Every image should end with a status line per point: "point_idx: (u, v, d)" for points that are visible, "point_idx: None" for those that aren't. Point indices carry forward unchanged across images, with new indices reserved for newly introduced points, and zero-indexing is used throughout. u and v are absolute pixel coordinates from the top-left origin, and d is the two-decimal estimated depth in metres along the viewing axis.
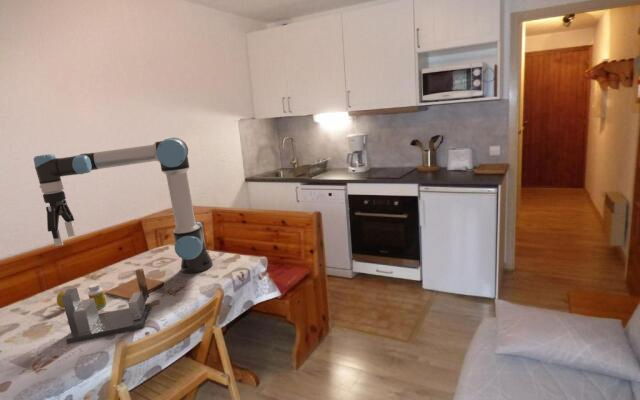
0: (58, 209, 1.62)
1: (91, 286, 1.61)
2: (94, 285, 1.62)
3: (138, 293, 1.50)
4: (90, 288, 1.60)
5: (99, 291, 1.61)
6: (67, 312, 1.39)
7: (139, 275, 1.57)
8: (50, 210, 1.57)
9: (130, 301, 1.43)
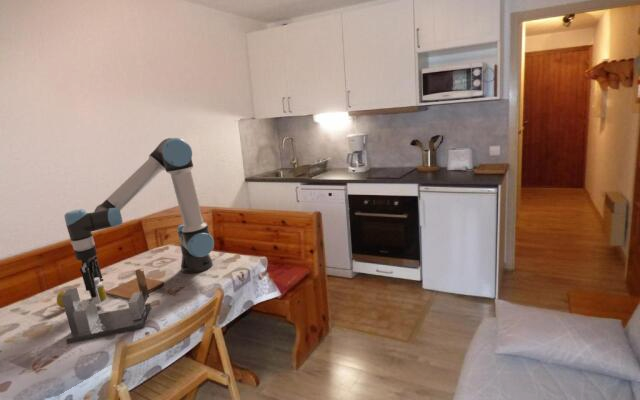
0: (91, 266, 1.58)
1: None
2: (94, 279, 1.61)
3: (138, 293, 1.50)
4: None
5: (99, 285, 1.61)
6: (67, 312, 1.39)
7: (139, 275, 1.57)
8: (85, 271, 1.54)
9: (130, 301, 1.43)
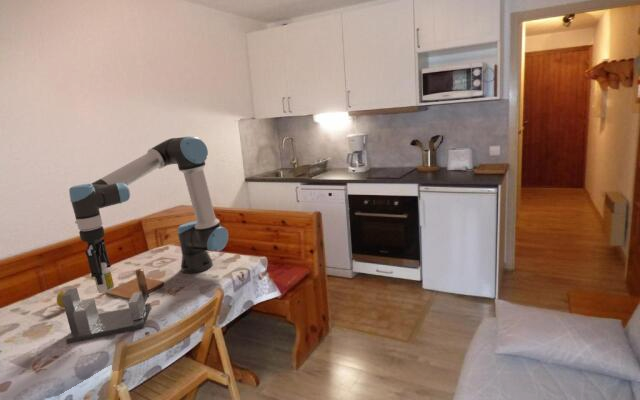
0: (98, 249, 1.39)
1: None
2: None
3: (138, 293, 1.50)
4: None
5: (106, 271, 1.41)
6: (67, 312, 1.39)
7: (139, 275, 1.57)
8: (90, 254, 1.35)
9: (130, 301, 1.43)
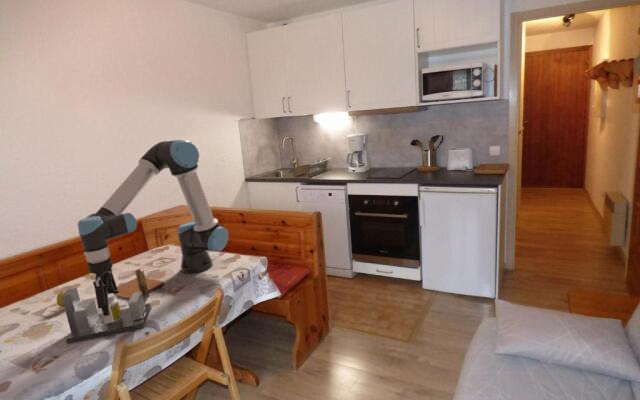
0: (105, 280, 1.41)
1: None
2: (108, 296, 1.44)
3: (138, 293, 1.50)
4: None
5: (114, 302, 1.44)
6: (67, 312, 1.39)
7: (139, 275, 1.57)
8: (98, 285, 1.37)
9: (130, 301, 1.43)
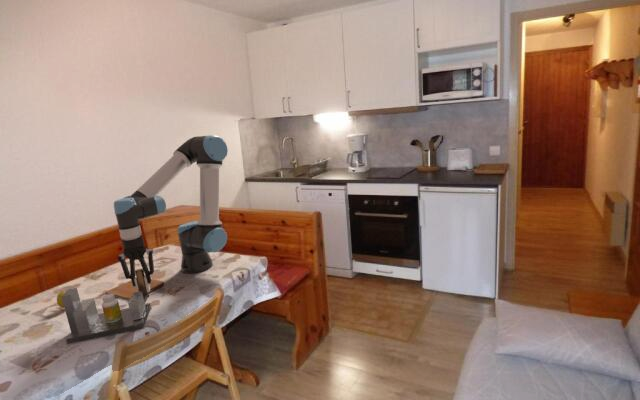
0: (129, 257, 1.55)
1: (105, 297, 1.44)
2: (108, 296, 1.44)
3: (138, 293, 1.50)
4: (104, 299, 1.43)
5: (114, 302, 1.44)
6: (67, 312, 1.39)
7: (139, 275, 1.57)
8: None
9: (130, 301, 1.43)
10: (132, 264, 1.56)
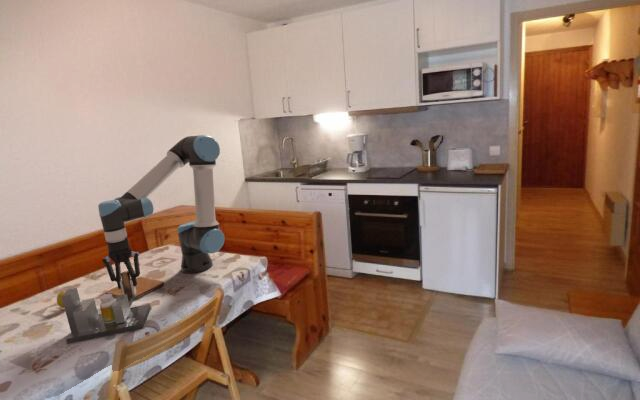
0: (114, 260, 1.54)
1: (103, 297, 1.43)
2: (106, 296, 1.44)
3: (123, 296, 1.48)
4: (102, 299, 1.43)
5: (112, 302, 1.44)
6: (67, 312, 1.39)
7: (124, 278, 1.56)
8: None
9: (114, 304, 1.42)
10: (117, 267, 1.55)
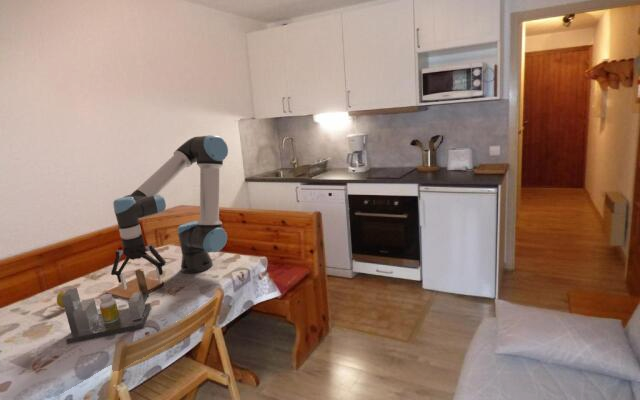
0: (127, 255, 1.55)
1: (103, 297, 1.43)
2: (106, 296, 1.44)
3: (138, 293, 1.50)
4: (102, 299, 1.43)
5: (112, 302, 1.44)
6: (67, 312, 1.39)
7: (139, 275, 1.57)
8: None
9: (130, 301, 1.43)
10: (126, 262, 1.55)
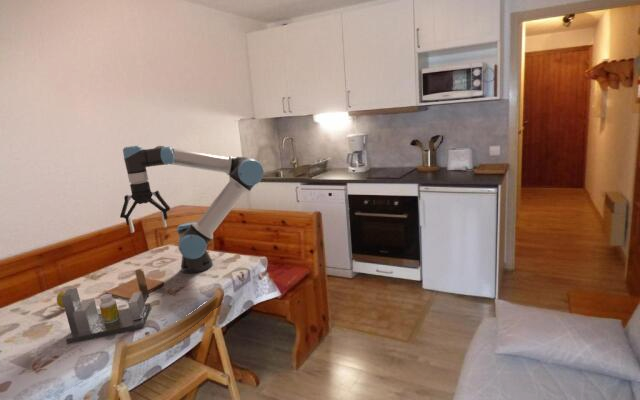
0: (135, 199, 1.68)
1: (103, 297, 1.43)
2: (106, 296, 1.44)
3: (138, 293, 1.50)
4: (102, 299, 1.43)
5: (112, 302, 1.44)
6: (67, 312, 1.39)
7: (139, 275, 1.57)
8: None
9: (130, 301, 1.43)
10: (133, 206, 1.69)
